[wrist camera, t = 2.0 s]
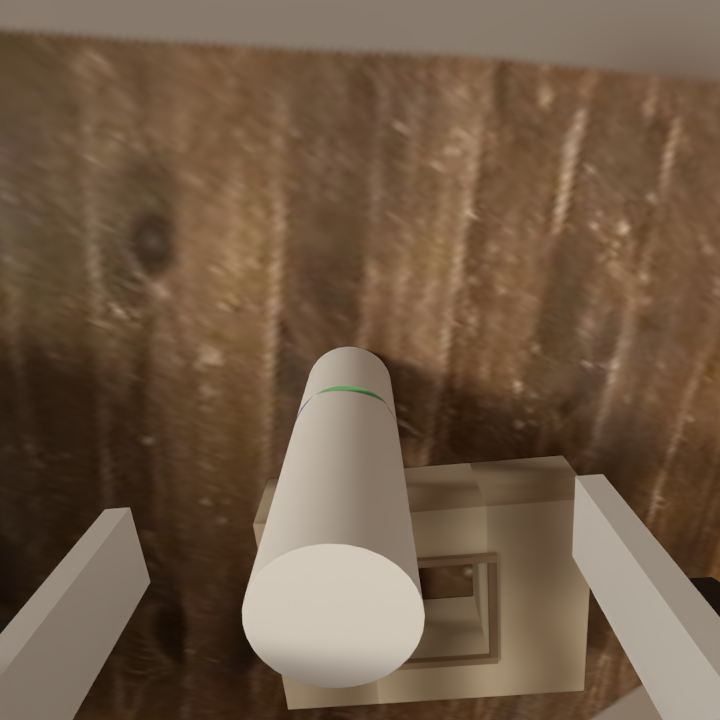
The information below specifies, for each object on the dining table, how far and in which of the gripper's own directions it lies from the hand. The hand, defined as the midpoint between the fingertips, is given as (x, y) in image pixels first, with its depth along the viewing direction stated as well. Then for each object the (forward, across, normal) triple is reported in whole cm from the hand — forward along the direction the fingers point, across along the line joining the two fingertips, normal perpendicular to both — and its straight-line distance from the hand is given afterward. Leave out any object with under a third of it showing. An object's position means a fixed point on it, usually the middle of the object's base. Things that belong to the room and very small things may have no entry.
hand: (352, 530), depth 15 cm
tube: (+12, -1, 0) cm, 12 cm away
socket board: (+12, +2, -11) cm, 16 cm away
